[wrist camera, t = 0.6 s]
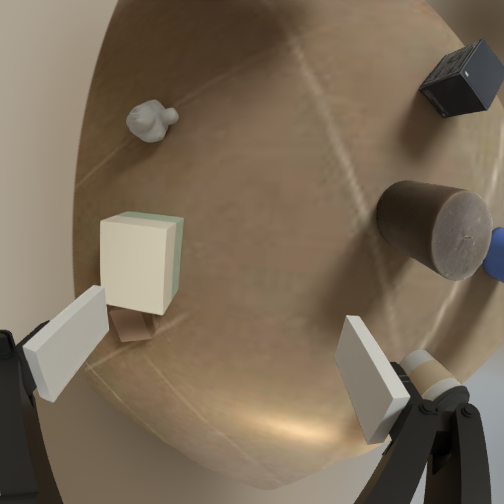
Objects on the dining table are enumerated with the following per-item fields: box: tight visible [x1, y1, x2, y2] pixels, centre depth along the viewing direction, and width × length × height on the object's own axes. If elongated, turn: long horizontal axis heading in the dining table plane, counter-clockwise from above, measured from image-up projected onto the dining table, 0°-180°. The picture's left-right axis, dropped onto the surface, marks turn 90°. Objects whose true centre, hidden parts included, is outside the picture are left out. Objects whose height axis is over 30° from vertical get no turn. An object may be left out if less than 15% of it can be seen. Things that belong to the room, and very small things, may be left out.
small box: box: [419, 38, 504, 118], centre depth 26 cm, size 11×6×10 cm, turn 140°
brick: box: [109, 306, 159, 342], centre depth 39 cm, size 5×5×4 cm
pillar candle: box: [377, 181, 493, 281], centre depth 30 cm, size 10×10×15 cm
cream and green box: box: [100, 211, 184, 315], centre depth 34 cm, size 10×8×8 cm
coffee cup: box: [400, 349, 470, 411], centre depth 36 cm, size 9×9×15 cm
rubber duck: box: [126, 100, 179, 143], centre depth 30 cm, size 5×7×8 cm
